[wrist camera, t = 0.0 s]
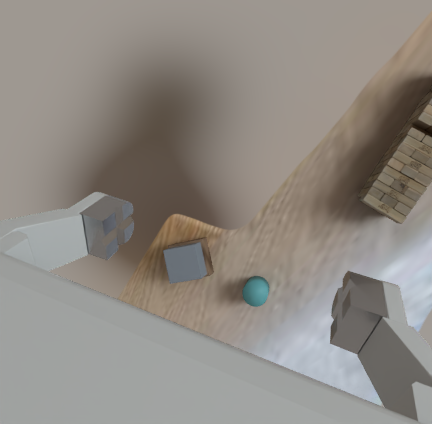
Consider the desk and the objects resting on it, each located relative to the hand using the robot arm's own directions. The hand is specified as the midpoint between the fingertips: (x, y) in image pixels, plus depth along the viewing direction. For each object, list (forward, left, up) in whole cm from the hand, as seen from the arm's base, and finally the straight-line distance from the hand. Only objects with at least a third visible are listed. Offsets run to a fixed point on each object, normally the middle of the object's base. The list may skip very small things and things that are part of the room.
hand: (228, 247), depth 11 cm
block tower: (+7, -27, -55) cm, 61 cm away
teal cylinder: (-15, +9, -54) cm, 57 cm away
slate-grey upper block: (-6, +22, -51) cm, 55 cm away
